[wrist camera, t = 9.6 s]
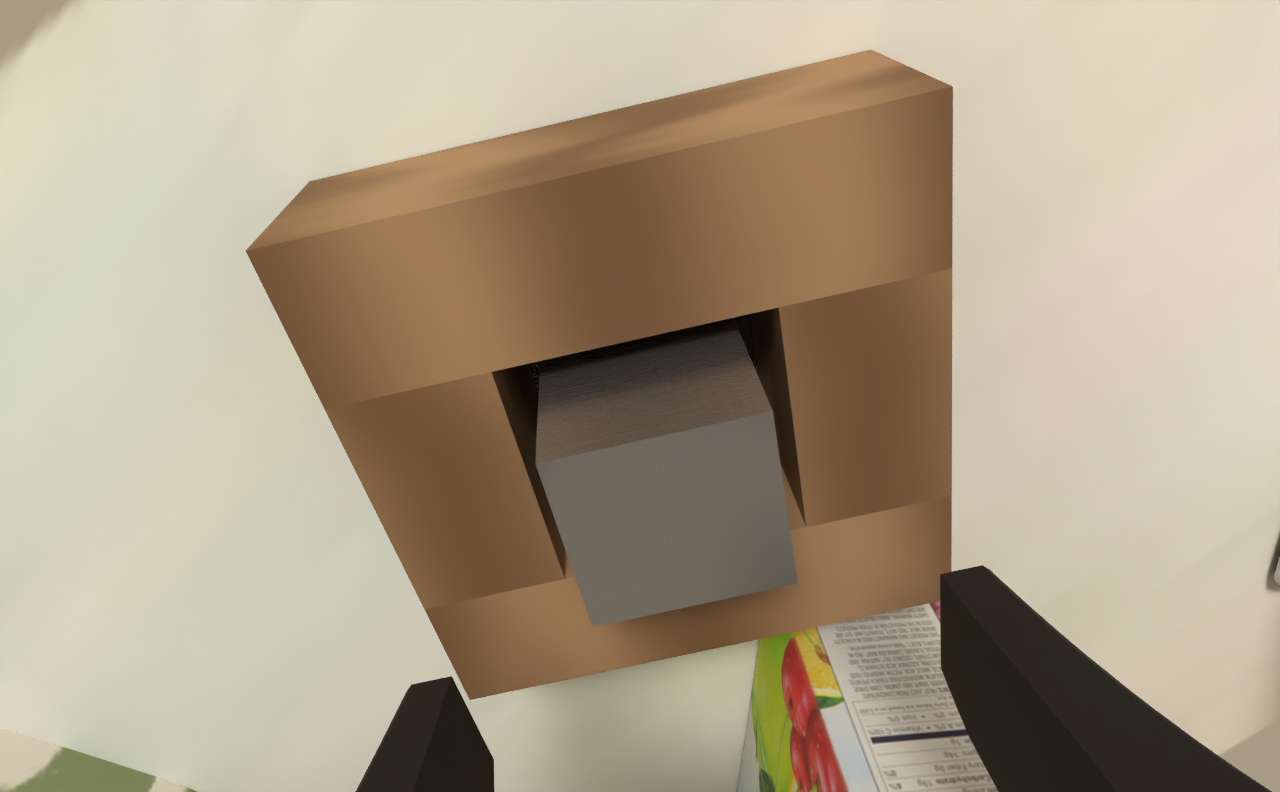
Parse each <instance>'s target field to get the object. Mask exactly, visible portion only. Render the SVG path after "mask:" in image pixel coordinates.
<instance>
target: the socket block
mask: <svg viewBox="0 0 1280 792" xmlns="http://www.w3.org/2000/svg"><path fill="white" fill-rule="evenodd" d="M952 144H953V87H952V86H950V85H948V84H946V83H944V82H941V81H939V80H937V79H935V78H933V77H930V76H928V75H926V74H924V73H921V72H919V71H917V70H915V69H913V68H910V67H908V66H906V65H904V64H902V63H899V62H897V61H895V60H893V59H890V58H888V57H886V56H884V55H882V54H879V53H877V52H875V51H873V50H868V51H864V52H860V53H856V54H851V55H847V56H843V57H839V58H834V59H830V60H826V61H822V62H817V63H813V64H809V65H805V66H800V67H796V68H792V69H788V70H783V71H779V72H775V73H770V74H766V75H762V76H758V77H753V78H749V79H745V80H741V81H736V82H732V83H728V84H724V85H719V86H715V87H711V88H707V89H702V90H698V91H694V92H690V93H685V94H681V95H677V96H673V97H668V98H664V99H660V100H655V101H651V102H647V103H643V104H638V105H634V106H630V107H626V108H621V109H617V110H613V111H609V112H604V113H600V114H596V115H592V116H587V117H583V118H579V119H575V120H570V121H566V122H562V123H557V124H553V125H549V126H545V127H540V128H536V129H532V130H528V131H523V132H519V133H515V134H511V135H506V136H502V137H498V138H494V139H489V140H485V141H481V142H477V143H472V144H468V145H464V146H460V147H455V148H451V149H447V150H442V151H438V152H434V153H430V154H425V155H421V156H417V157H413V158H408V159H404V160H400V161H396V162H391V163H387V164H383V165H379V166H374V167H370V168H366V169H362V170H357V171H353V172H349V173H344V174H340V175H336V176H332V177H327V178H323V179H319V180H315V181H310V182H309V183H308V184H307V185H306V186H305V187H304V188H303V189H302V190H301V191H300V192H299V194H298V195H297V196H296V197H295V198H294V199H293V200H292V201H291V202H290V203H289V204H288V205H287V207H286V208H285V209H284V210H283V211H282V212H281V213H280V214H279V215H278V216H277V217H276V218H275V220H274V221H273V222H272V223H271V224H270V225H269V226H268V227H267V228H266V229H265V230H264V232H263V233H262V234H261V235H260V236H259V237H258V238H257V239H256V240H255V241H254V242H253V243H252V245H251V246H250V247H249V248H248V249H247V250H246V252H247V254H248V256H249V258H250V260H251V262H252V264H253V266H254V268H255V270H256V272H257V274H258V276H259V278H260V280H261V282H262V284H263V286H264V288H265V290H266V292H267V294H268V296H269V298H270V300H271V302H272V304H273V306H274V308H275V310H276V312H277V314H278V316H279V319H280V321H281V323H282V325H283V327H284V329H285V331H286V333H287V335H288V337H289V339H290V341H291V343H292V345H293V347H294V349H295V351H296V353H297V355H298V357H299V359H300V361H301V363H302V365H303V367H304V369H305V371H306V373H307V375H308V377H309V379H310V381H311V383H312V385H313V387H314V389H315V391H316V393H317V395H318V397H319V399H320V401H321V403H322V405H323V407H324V409H325V411H326V413H327V415H328V417H329V419H330V421H331V423H332V425H333V427H334V429H335V431H336V433H337V435H338V437H339V439H340V441H341V443H342V445H343V447H344V449H345V451H346V453H347V455H348V457H349V459H350V461H351V463H352V465H353V467H354V469H355V471H356V473H357V475H358V477H359V479H360V481H361V483H362V485H363V487H364V489H365V491H366V493H367V495H368V497H369V499H370V501H371V503H372V505H373V507H374V509H375V511H376V513H377V515H378V517H379V519H380V521H381V523H382V525H383V527H384V529H385V531H386V533H387V535H388V537H389V539H390V541H391V543H392V545H393V547H394V549H395V551H396V553H397V555H398V557H399V559H400V561H401V563H402V565H403V567H404V569H405V571H406V573H407V575H408V577H409V579H410V581H411V583H412V585H413V587H414V589H415V591H416V593H417V595H418V597H419V599H420V601H421V603H422V605H423V607H424V609H425V611H426V613H427V615H428V617H429V619H430V621H431V623H432V625H433V627H434V629H435V631H436V633H437V635H438V637H439V639H440V641H441V643H442V645H443V647H444V649H445V651H446V653H447V655H448V657H449V659H450V661H451V663H452V665H453V667H454V669H455V671H456V673H457V675H458V677H459V679H460V681H461V683H462V685H463V687H464V689H465V691H466V693H467V695H468V697H469V699H470V700H471V699H476V698H481V697H486V696H490V695H495V694H500V693H505V692H509V691H514V690H519V689H524V688H528V687H533V686H538V685H543V684H547V683H552V682H557V681H562V680H567V679H571V678H576V677H581V676H586V675H590V674H595V673H600V672H605V671H609V670H614V669H619V668H624V667H628V666H633V665H638V664H643V663H647V662H652V661H657V660H662V659H667V658H671V657H676V656H681V655H686V654H690V653H695V652H700V651H705V650H709V649H714V648H719V647H724V646H728V645H733V644H738V643H743V642H748V641H752V640H757V639H762V638H767V637H771V636H776V635H781V634H786V633H790V632H795V631H800V630H805V629H809V628H814V627H819V626H824V625H828V624H833V623H838V622H843V621H848V620H852V619H857V618H862V617H867V616H871V615H876V614H881V613H886V612H890V611H895V610H900V609H905V608H909V607H914V606H919V605H924V604H928V603H933V602H938V601H940V574H944V573H949V572H951V491H952ZM747 314H750V318H751V325H752V332H753V338H754V345H755V352H756V359H757V365H758V372H759V379H760V382H761V384H762V387H763V389H764V391H765V394H766V396H767V399H768V401H769V403H770V406H771V408H772V410H773V416H774V423H775V430H776V436H777V443H778V450H779V457H780V464H781V471H782V478H783V485H784V492H785V499H786V506H787V513H788V520H789V526H790V533H791V540H792V547H793V554H794V561H795V568H796V575H797V582H798V584H793V585H788V586H784V587H779V588H774V589H770V590H765V591H760V592H755V593H751V594H746V595H741V596H737V597H732V598H727V599H723V600H718V601H713V602H709V603H704V604H699V605H695V606H690V607H685V608H681V609H676V610H671V611H666V612H662V613H657V614H652V615H648V616H643V617H638V618H634V619H629V620H624V621H620V622H615V623H610V624H606V625H601V626H596V627H592V624H591V621H590V619H589V616H588V613H587V610H586V607H585V604H584V601H583V599H582V596H581V593H580V590H579V587H578V584H577V581H576V579H575V576H574V573H573V570H572V567H571V564H570V561H569V559H568V556H567V553H566V550H565V547H564V544H563V541H562V539H561V536H560V533H559V530H558V527H557V524H556V522H555V519H554V516H553V513H552V510H551V507H550V504H549V502H548V499H547V496H546V493H545V490H544V487H543V484H542V482H541V479H540V476H539V473H538V470H537V467H536V464H535V461H536V439H537V418H538V397H539V393H538V390H537V387H536V384H535V380H534V377H533V374H532V371H531V368H530V365H529V363H533V362H538V361H542V360H547V359H551V358H556V357H560V356H565V355H569V354H573V353H578V352H582V351H587V350H591V349H596V348H600V347H605V346H609V345H614V344H618V343H623V342H627V341H631V340H636V339H640V338H645V337H649V336H654V335H658V334H663V333H667V332H672V331H676V330H680V329H685V328H689V327H694V326H698V325H703V324H707V323H712V322H716V321H721V320H725V319H729V318H734V317H738V316H743V315H747Z"/></svg>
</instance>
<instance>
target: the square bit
mask: <svg viewBox="0 0 1280 792" xmlns="http://www.w3.org/2000/svg"><path fill="white" fill-rule="evenodd" d="M535 464H536V467H537V470H538V473H539V476H540V479H541V482H542V484H543V487H544V490H545V493H546V496H547V499H548V502H549V504H550V507H551V510H552V513H553V516H554V519H555V522H556V524H557V527H558V530H559V533H560V536H561V539H562V541H563V544H564V547H565V550H566V553H567V556H568V559H569V561H570V564H571V567H572V570H573V573H574V576H575V579H576V581H577V584H578V587H579V590H580V593H581V596H582V599H583V601H584V604H585V607H586V610H587V613H588V616H589V619H590V621H591V624H592V627H596V626H601V625H606V624H610V623H615V622H620V621H624V620H629V619H634V618H638V617H643V616H648V615H652V614H657V613H662V612H666V611H671V610H676V609H681V608H685V607H690V606H695V605H699V604H704V603H709V602H713V601H718V600H723V599H727V598H732V597H737V596H741V595H746V594H751V593H755V592H760V591H765V590H770V589H774V588H779V587H784V586H788V585H793V584H798V582H797V575H796V568H795V561H794V554H793V547H792V540H791V533H790V526H789V520H788V513H787V506H786V499H785V492H784V485H783V478H782V471H781V464H780V457H779V450H778V443H777V436H776V430H775V423H774V416H773V410H772V408H771V406H770V403H769V401H768V399H767V396H766V394H765V391H764V389H763V387H762V384H761V382H760V380H759V377H758V375H757V372H756V370H755V368H754V365H753V363H752V361H751V358H750V356H749V353H748V351H747V349H746V346H745V344H744V342H743V339H742V337H741V334H740V332H739V330H738V327H737V325H736V323H735V320H734V318H729V319H725V320H721V321H716V322H712V323H707V324H703V325H698V326H694V327H689V328H685V329H680V330H676V331H672V332H667V333H663V334H658V335H654V336H649V337H645V338H640V339H636V340H631V341H627V342H623V343H618V344H614V345H609V346H605V347H600V348H596V349H591V350H587V351H582V352H578V353H573V354H569V355H565V356H560V357H556V358H551V359H547V360H542V361H540V375H539V397H538V418H537V439H536V461H535Z"/></svg>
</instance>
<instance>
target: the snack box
mask: <svg viewBox="0 0 1280 792" xmlns="http://www.w3.org/2000/svg"><path fill="white" fill-rule="evenodd" d="M737 792H998V790H997V788H996V786H995V784H994V783H993V781H992V779H991V777H990V775H989V773H988V772H987V770H986V768H985V766H984V764H983V762H982V760H981V759H980V757H979V755H978V753H977V751H976V749H975V747H974V745H973V744H972V742H971V740H970V738H969V736H968V733H967V731H966V729H965V726H964V724H963V721H962V719H961V717H960V714H959V712H958V710H957V707H956V705H955V702H954V700H953V697H952V695H951V692H950V690H949V687H948V685H947V682H946V680H945V677H944V675H943V672H942V670H941V635H940V601H938V602H933V603H928V604H924V605H919V606H914V607H909V608H905V609H900V610H895V611H890V612H886V613H881V614H876V615H871V616H867V617H862V618H857V619H852V620H848V621H843V622H838V623H833V624H828V625H824V626H819V627H814V628H809V629H805V630H800V631H795V632H790V633H786V634H781V635H776V636H771V637H767V638H762V639H759V644H758V651H757V657H756V666H755V674H754V681H753V687H752V694H751V701H750V708H749V715H748V722H747V729H746V736H745V743H744V749H743V755H742V762H741V770H740V775H739V781H738V788H737Z"/></svg>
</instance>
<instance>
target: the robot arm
mask: <svg viewBox="0 0 1280 792" xmlns="http://www.w3.org/2000/svg"><path fill="white" fill-rule="evenodd" d="M1274 580H1275V582H1276V583H1277V584H1278V585H1279V586H1280V558H1279V561H1278V564H1277V568H1276V571H1275V574H1274ZM940 635H941V670H942V672H943V675H944V677H945V680H946V682H947V685H948V687H949V690H950V692H951V695H952V697H953V700H954V702H955V705H956V707H957V710H958V712H959V714H960V717H961V719H962V721H963V724H964V726H965V729H966V731H967V733H968V736H969V738H970V740H971V742H972V744H973V745H974V747H975V749H976V751H977V753H978V755H979V757H980V759H981V760H982V762H983V764H984V766H985V768H986V770H987V772H988V773H989V775H990V777H991V779H992V781H993V783H994V784H995V786H996V788H997V790H998V792H1271V791H1270V790H1268V789H1267V788H1265V787H1264V786H1262V785H1261V784H1259V783H1258V782H1256V781H1255V780H1253V779H1251V778H1250V777H1249V776H1247V775H1246V774H1244V773H1243V772H1241V771H1240V770H1238V769H1237V768H1235V767H1234V766H1232V765H1231V764H1229V763H1228V762H1226V761H1225V760H1224V759H1222V758H1221V757H1219V756H1218V755H1216V754H1215V753H1214V752H1212V751H1211V750H1209V749H1208V748H1207V747H1205V746H1204V745H1202V744H1201V743H1199V742H1198V741H1197V740H1195V739H1194V738H1193V737H1191V736H1190V735H1188V734H1187V733H1186V732H1184V731H1183V730H1182V729H1180V728H1179V727H1178V726H1176V725H1175V724H1174V723H1172V722H1171V721H1170V720H1168V719H1167V718H1165V717H1164V716H1163V715H1161V714H1160V713H1159V712H1157V711H1156V710H1155V709H1153V708H1152V707H1151V706H1149V705H1148V704H1147V703H1146V702H1144V701H1143V700H1142V699H1140V698H1139V697H1138V696H1137V695H1135V694H1134V693H1133V692H1131V691H1130V690H1129V689H1128V688H1126V687H1125V686H1124V685H1123V684H1121V683H1120V682H1119V681H1118V680H1116V679H1115V678H1114V677H1113V676H1111V675H1110V674H1109V673H1108V672H1107V671H1105V670H1104V669H1103V668H1102V667H1100V666H1099V665H1098V664H1097V663H1095V662H1094V661H1093V660H1092V659H1090V658H1089V657H1088V656H1087V655H1085V654H1084V653H1083V652H1082V651H1081V650H1080V649H1078V648H1077V647H1076V646H1075V645H1074V644H1072V643H1071V642H1070V641H1069V640H1068V639H1066V638H1065V637H1064V636H1063V635H1062V634H1061V633H1060V632H1058V631H1057V630H1056V629H1055V628H1054V627H1053V626H1051V625H1050V624H1049V623H1048V622H1047V621H1046V620H1045V619H1043V618H1042V617H1041V616H1040V615H1039V614H1038V613H1037V612H1035V611H1034V610H1033V609H1032V608H1031V607H1030V606H1029V605H1028V604H1026V603H1025V602H1024V601H1023V600H1022V599H1021V598H1020V597H1019V596H1018V595H1016V594H1015V593H1014V592H1013V591H1012V590H1011V589H1010V588H1009V587H1008V586H1007V585H1006V584H1004V583H1003V582H1002V581H1001V580H1000V579H999V578H998V577H997V576H996V575H995V574H994V573H993V572H992V571H990V570H989V569H987V568H986V567H984V566H983V565H982V566H977V567H973V568H968V569H963V570H958V571H953V572H949V573H944V574H940ZM356 792H494V759H493V757H492V755H491V753H490V751H489V750H488V748H487V746H486V744H485V742H484V740H483V738H482V736H481V734H480V732H479V730H478V728H477V726H476V724H475V722H474V720H473V718H472V716H471V714H470V712H469V710H468V708H467V706H466V704H465V702H464V700H463V698H462V696H461V694H460V692H459V690H458V688H457V686H456V684H455V682H454V680H453V678H452V676H451V677H446V678H442V679H437V680H432V681H427V682H422V683H418V684H413V685H411V686H410V688H409V689H408V690H407V692H406V694H405V696H404V698H403V700H402V702H401V704H400V706H399V708H398V710H397V712H396V714H395V716H394V718H393V720H392V722H391V724H390V726H389V728H388V730H387V732H386V734H385V736H384V738H383V740H382V742H381V744H380V746H379V748H378V750H377V752H376V754H375V755H374V757H373V759H372V761H371V763H370V765H369V767H368V769H367V771H366V773H365V775H364V777H363V779H362V781H361V782H360V784H359V786H358V788H357V790H356Z"/></svg>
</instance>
